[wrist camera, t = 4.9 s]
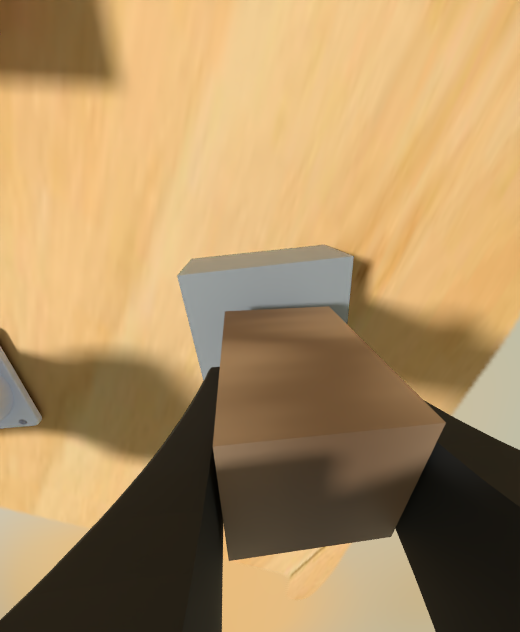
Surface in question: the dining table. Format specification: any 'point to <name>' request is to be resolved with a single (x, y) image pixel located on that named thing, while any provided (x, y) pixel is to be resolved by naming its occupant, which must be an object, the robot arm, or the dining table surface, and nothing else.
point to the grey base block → (260, 289)
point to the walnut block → (312, 434)
